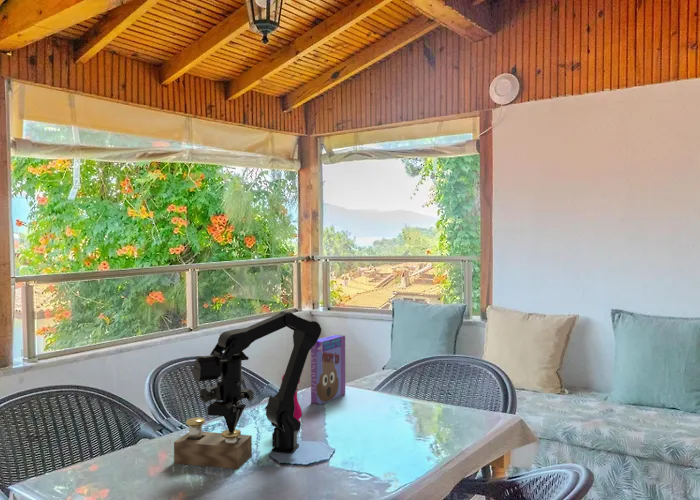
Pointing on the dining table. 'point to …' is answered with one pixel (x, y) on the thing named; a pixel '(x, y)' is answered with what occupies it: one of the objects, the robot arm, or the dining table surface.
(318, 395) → the cereal box
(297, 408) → the pepper mill
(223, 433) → the peg
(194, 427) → the peg
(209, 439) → the block
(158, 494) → the dining table surface
